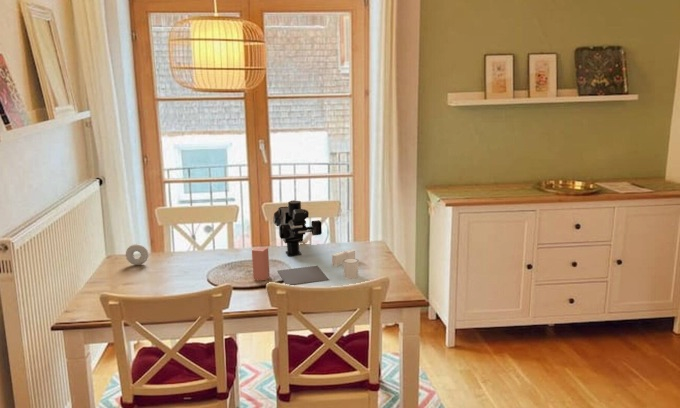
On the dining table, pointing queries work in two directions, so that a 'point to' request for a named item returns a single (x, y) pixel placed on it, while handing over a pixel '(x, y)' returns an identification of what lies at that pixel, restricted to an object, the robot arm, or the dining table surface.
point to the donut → (133, 259)
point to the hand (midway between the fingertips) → (305, 234)
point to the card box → (260, 263)
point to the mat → (302, 275)
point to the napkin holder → (342, 257)
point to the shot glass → (351, 268)
